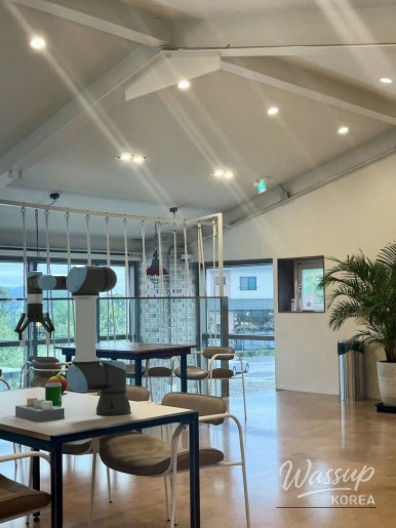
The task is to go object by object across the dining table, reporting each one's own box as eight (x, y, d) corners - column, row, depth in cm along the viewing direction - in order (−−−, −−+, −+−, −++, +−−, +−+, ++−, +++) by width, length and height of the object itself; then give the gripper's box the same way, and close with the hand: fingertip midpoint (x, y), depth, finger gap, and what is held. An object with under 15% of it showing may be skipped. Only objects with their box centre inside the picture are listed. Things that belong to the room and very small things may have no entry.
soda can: (57, 409, 300) (57, 383, 301) (42, 409, 302) (42, 383, 303) (64, 407, 308) (64, 381, 308) (49, 407, 309) (49, 381, 310)
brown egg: (39, 409, 288) (39, 398, 288) (29, 411, 285) (29, 399, 286) (34, 408, 292) (34, 397, 292) (25, 409, 289) (25, 398, 289)
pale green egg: (46, 411, 283) (46, 400, 283) (37, 412, 280) (37, 401, 280) (41, 410, 286) (41, 399, 286) (32, 411, 283) (32, 400, 284)
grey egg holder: (64, 417, 278) (64, 408, 279) (38, 421, 271) (38, 411, 271) (40, 411, 295) (40, 402, 295) (15, 415, 288) (15, 405, 288)
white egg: (54, 413, 277) (54, 401, 278) (44, 414, 275) (44, 402, 275) (49, 412, 281) (49, 400, 281) (39, 413, 278) (39, 401, 278)
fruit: (61, 391, 366) (60, 373, 367) (70, 393, 358) (70, 374, 359) (43, 393, 360) (43, 375, 360) (52, 395, 351) (52, 376, 352)
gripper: (54, 302, 333) (54, 344, 331) (7, 303, 317) (7, 347, 315) (61, 302, 327) (61, 345, 325) (14, 303, 311) (14, 348, 309)
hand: (35, 346), depth 320 cm, fingers open, 13 cm apart
